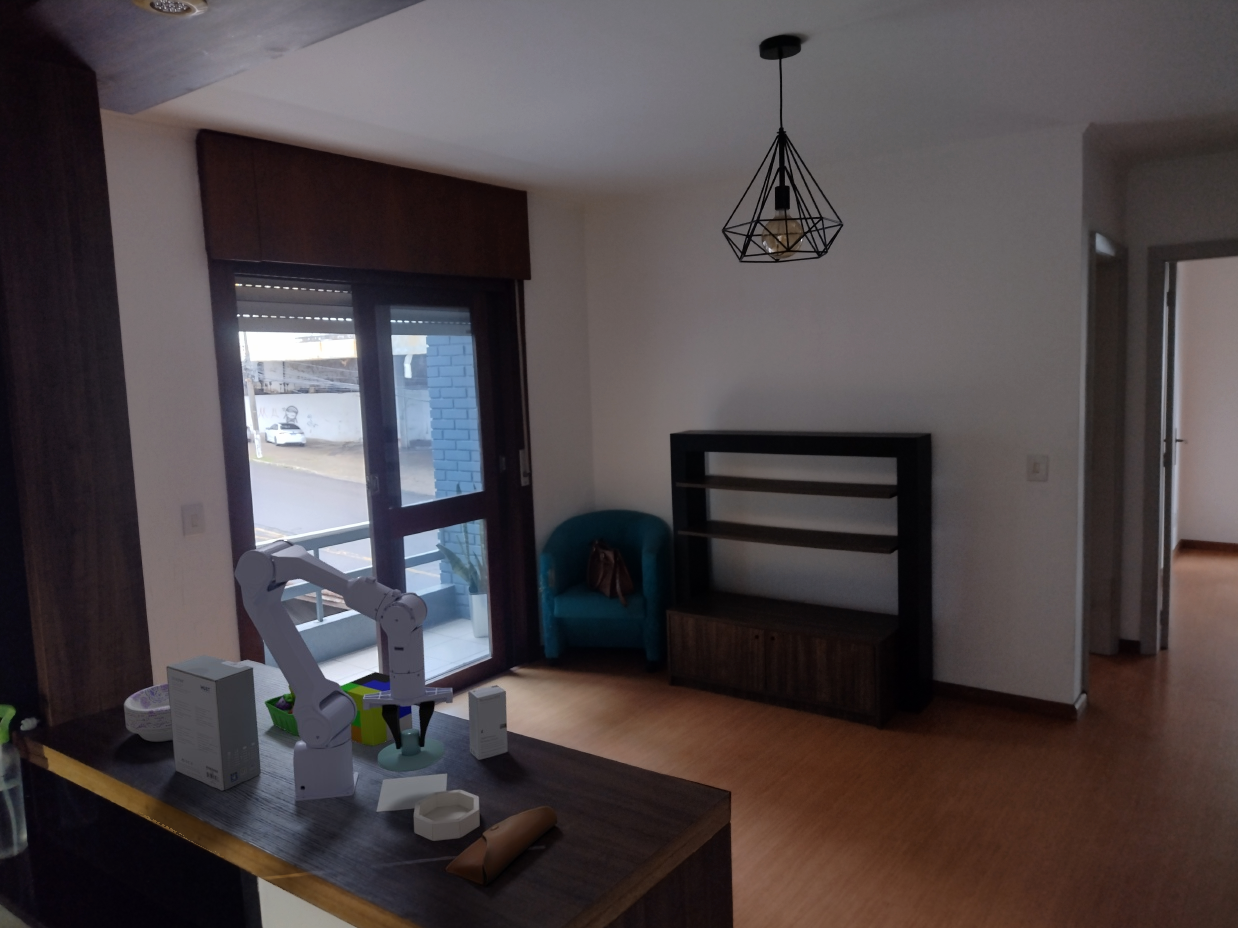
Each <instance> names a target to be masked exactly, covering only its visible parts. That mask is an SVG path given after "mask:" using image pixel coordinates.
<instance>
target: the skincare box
mask: <svg viewBox="0 0 1238 928" xmlns="http://www.w3.org/2000/svg"><path fill="white" fill-rule="evenodd" d="M467 692H468V693H467V694H468V695H467V697H468V723H469V724H468V726H469V727H468V728H469V731H468V732H469V753H470V754H471V755H473V757H474V758H476V759H477V760H483V759H487V758H488V759H489V758H491V757H495V756H499V755H502V754H505V753H508V726H507V725H508V723H507V722H508V721H507V692H506V690H505V689H504V688H502V687H501V686H499V685H497V684H496V685H490V686H483V687H480V688H476V689H473V690H468V691H467Z"/></svg>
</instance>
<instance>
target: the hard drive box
mask: <svg viewBox="0 0 1238 928" xmlns="http://www.w3.org/2000/svg"><path fill="white" fill-rule="evenodd" d="M165 668H166V678H167V679H166V680H167V683H168V692H169V703H170V715H171V726H172V738H173V740H172V745H173V746H172V747H173V748H172V749H173V758H174V770H175V771H176V772H178V773H181V774H183V775H184V776H187V777H189V778H192V779H195V780H197V781H198V782H199V781H200V782H202V783H204V784H205V785H208V786H210V787H211V788H216V789H218V790H219V791H222V792H223V791H224V790H225V791H226V790H228V789H231V788H233V787H235V786H237V785H239V784H242V783H244V782H246V781H248V780H251V779H252V778H255V777H257V776H259V775H261V771H262V770H261V760H260V759H261V757H260V756H261V755H260V743H259V731H258V719H257V717H258V716H257V706H256V703H257V702H256V692H255V691H256V690H255V680H254V677H255V676H254V667H252V666H249V665H245V664H241V663H238V662H235V661H230V660H226V659H223V658H219V657H215V656H211V655H206V654H201V655H198V656H195V657H191V658H188V659H185V660H181V661H178V662H175V663H172V664H169V665H166V667H165Z"/></svg>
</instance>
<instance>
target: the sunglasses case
mask: <svg viewBox="0 0 1238 928" xmlns="http://www.w3.org/2000/svg"><path fill="white" fill-rule="evenodd" d="M557 823H558V816H557V814H556V812H555V810H554V808H552V806H549V805H542V806H539V807H534V808H531V809H528V810H525V811H522V812H520V813H517V814H514V815H511V816H509V817H507V818H506V819H504V820H502V821H499V822H497V823H495V824H493V825H491V826H490V827H489V828H488V829H486V830H485V831H484V832H482V836H481V837H479V838H478V839H476V841H475V842H473V843H472V844H470V845H469V846H468V847H467V848H465V849H464V850H463V851H462V852H461V853H460V854H458V855H457V856H456V857H455V858H454V859H453V860H452V861H450V862H449V864H448V865H447V866H446V867H445V869H444V870H445V871H446V872H447V873H450V874H454V875H457V876H459V877H462V878H464V879H467V880H469V881H472V882H474V883H477V884H480V885H484V887H486V886H487V885H489V884H490V883H492V882H493V881H494V880H495V879H496V878H497V877H498V876H500V874H501V873H502V872H503V871H504V870H505V869H506V868H507V867H508V866H509V865H510V864H511V863H513V861H515V860H516V859H517V857H519V856H520V855H522V853H524V852H525V851H526V850H527V849H528V848H530V846H532V845H533V844H534V843H535V842H536V841H537V840H539V839H540V838H541V837H542V836H543V835H545V834H546V833H547V832H549V830H551V829H552V828H553V827H554V826H556V824H557Z"/></svg>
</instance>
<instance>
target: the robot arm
mask: <svg viewBox="0 0 1238 928" xmlns="http://www.w3.org/2000/svg"><path fill="white" fill-rule="evenodd" d="M234 570H235V571H234V573H233V575H234V577H235V578H236V581H237V582H238V584H239V586H240V589H241V597H242V603H243V604H242V605H243V608H244V609H245V611H246V613H247V615H248V616H249V618H250V619H251V621H252V623H253V625H254V627H255V628H256V631H257V632H258V634H259V636H260V637H261V639H262V641H263V642H264V645H265V646H266V647H267V649H268V651H269V652H270V655H271V656H272V658H273V660H274V662H275V664H276V665H277V666H278V668H279V670H280V672H281V673H282V675H283V676H284V679H285V681H286V683H288V687H289V686H290V687H291V689H292V691H293V692H294V694H295V696H296V699H295V704H294V708H293V715H294V717H295V719H296V721H297V726H298V733H299V735H298V736H299V737H300V740H297V741H296V742H295V745H294V749H293V756H292V757H293V758H292V761H293V762H292V763H293V766H292V767H293V779H294V781H293V782H294V793H295V795H294V796H295V797H294V801H295V802H300V801H310V800H321V799H331V798H343V797H351V796H354V793H355V791H356V787H357V783H358V779H359V774H360V773H359V772H358V771H355V772H354V762H353V761H354V760H353V746H352V745H353V741H351V723H352V722H353V721H354V720H355V718H356V715H357V706H356V703H355V701H354V700H353V699H352V697H351V696H349V695H348V694H346V693H345V692H344V691H343V690H342V689H341V687H340V686H341V685H340V684H339V682H336V681H333V680H330V679H328V678H326V676H325V674H324V673H323V671H322V670H321V668H320V666H319V664H318V663H317V661H316V659H315V657H314V656H313V654H312V652H311V651H310V648H309V647H308V645H307V643H306V642H305V640H304V638H303V637H302V635H301V633H300V631H299V630H298V628H297V626H296V625H295V623H294V621H293V619H292V618H291V616H290V614H289V612H288V611H287V609H286V607H285V605H284V604H283V602H282V597H283V594H284V592H285V588H286V585H287V584H288V583H289V581H295V580H303V581H304V582H307V583H309V584H311V585H314V586H316V587H318V588H322V589H324V590H326V591H328V592H330V593H332V594H333V593H334V594H336V595H338V596H341V597H342V599H343V602H344V604H345V606H346V607H347V608H349V609H351V610H352V611H355V612H357V613H359V614H361V615H363V616H365V617H367V618H369V619H371V620H374V621H375V622H378V623H379V625H380V627H381V628H382V630H383V632H385V634H386V636H387V646H388V665H389V666H388V667H389V676H390V690H389V691H384V692H379V693H373V694H365V695H364V697H363V710H369V709H370V708H375V707H382V717H383V719H384V720H385V722H386V723H387V725H388V727H389V728H390V730H391V733H392V735H393V738H392V739H393V740H394V743H395V744H396V749H401V741H400V733H401V731H400V718H399V706H411V707H412V706H414V705H419V707H418V718H419V732H420V747H424V745H425V738H426V734H427V730H428V727H429V724H430V723H431V719H432V717H433V714H434V712H435V705H436V703H446V704H453V700H454V695H453V687H429V686H426V672H425V671H426V669H425V667H426V666H425V650H424V649H425V648H424V647H425V646H424V627H423V623H424V622H425V620H426V619H427V616H428V607H427V602H426V601H425V600H424V599H423V598H422V596H420V595H418V594H417V593H416V592H411V591H410V592H405V593H402V591H401V590H399V589H397V588H396V589H392V587H391V588H390V587H389V586H386V585H384V584H382V583H380V582H378V581H376V580H377V578H376V577H375V576H373V575H368V576H366V575H359V576H358V577H352V576H350V575H348V574H346V573H344V572H343V571H340V570H339V569H338V568H336V567H334V566H332V565H330V564H328V563H327V562H325V561H323V560H321V559H320V558H318V557H317V556H315V555H313V554H311V553H310V552H308V551H307V549H305V547H304V546H303V545H300V544H295V543H293V542H292V541H290V540H288V539H285V538H283V539H276V540H274V541H272V543H269V544H266V545H263V546H261V547H258V548H256V549H250V550H248V551H247V550H246V551H245V552H244V553H242V555H241V556H240V557H239V559H238V562H237V565H236V568H235V569H234ZM320 702H321V703H320Z"/></svg>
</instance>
